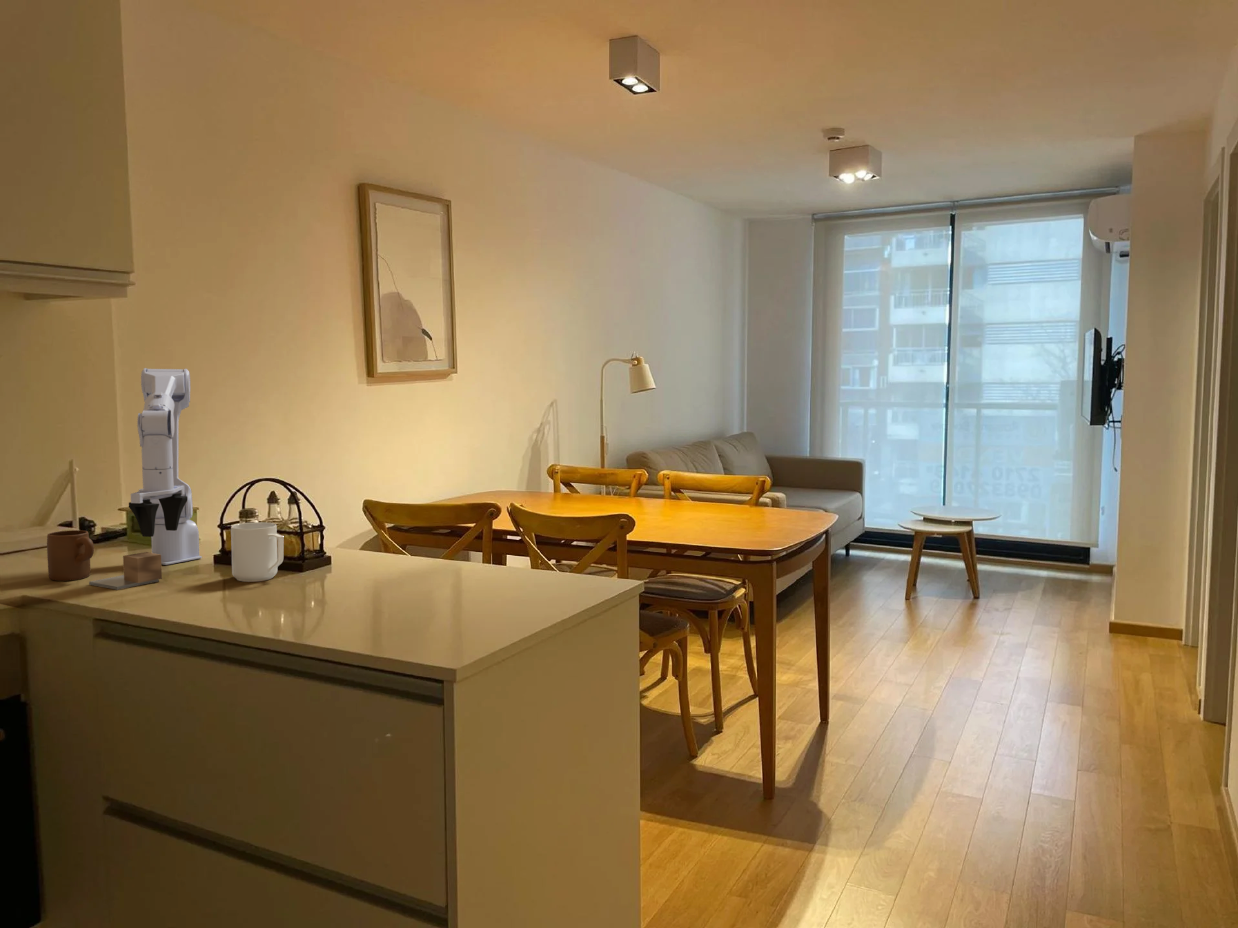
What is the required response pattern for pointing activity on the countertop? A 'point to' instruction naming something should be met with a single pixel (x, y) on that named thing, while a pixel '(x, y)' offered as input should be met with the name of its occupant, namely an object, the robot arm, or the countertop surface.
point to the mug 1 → (69, 555)
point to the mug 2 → (256, 551)
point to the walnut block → (142, 567)
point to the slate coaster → (117, 583)
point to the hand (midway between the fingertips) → (160, 533)
